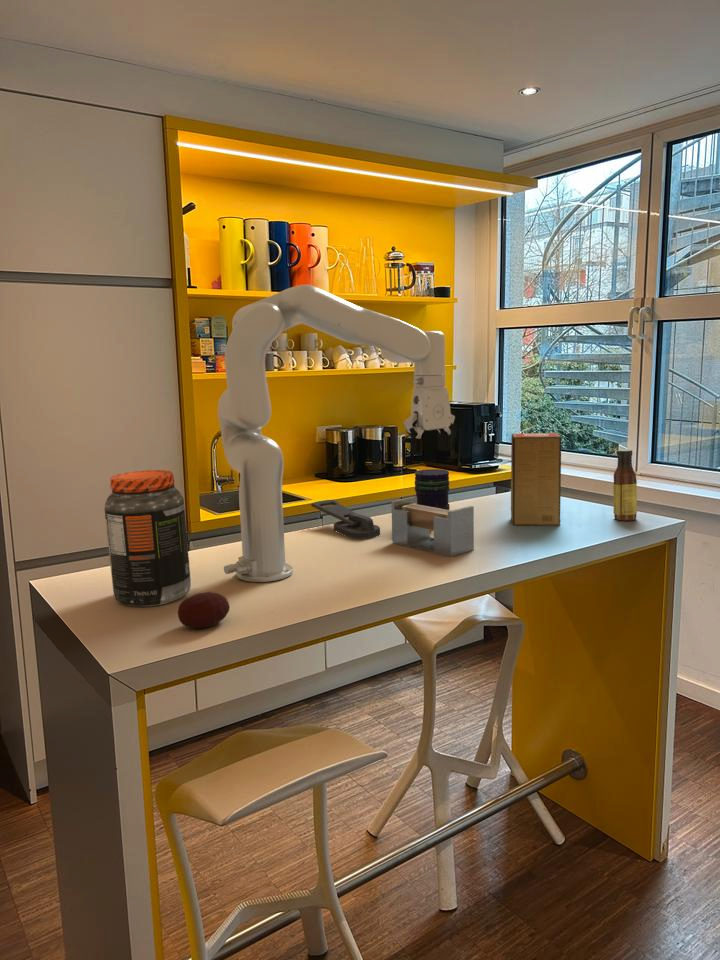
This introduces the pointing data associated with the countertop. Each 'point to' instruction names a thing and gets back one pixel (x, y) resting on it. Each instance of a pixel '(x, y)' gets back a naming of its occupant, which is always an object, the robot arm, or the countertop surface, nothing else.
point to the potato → (203, 610)
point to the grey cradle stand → (448, 533)
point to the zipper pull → (349, 520)
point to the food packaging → (535, 479)
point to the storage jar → (432, 488)
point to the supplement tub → (147, 538)
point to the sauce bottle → (625, 487)
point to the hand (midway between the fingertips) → (430, 452)
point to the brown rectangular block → (424, 515)
